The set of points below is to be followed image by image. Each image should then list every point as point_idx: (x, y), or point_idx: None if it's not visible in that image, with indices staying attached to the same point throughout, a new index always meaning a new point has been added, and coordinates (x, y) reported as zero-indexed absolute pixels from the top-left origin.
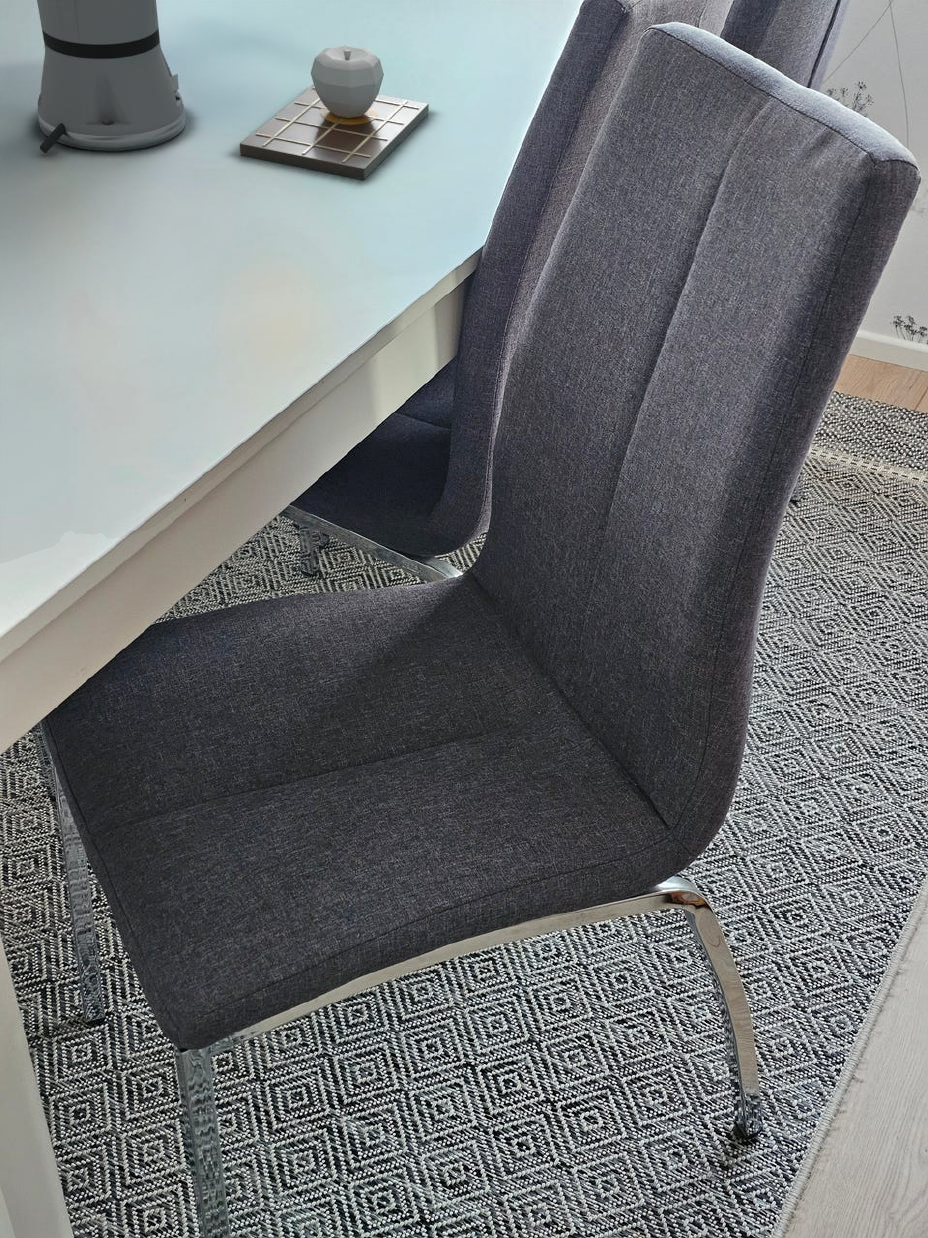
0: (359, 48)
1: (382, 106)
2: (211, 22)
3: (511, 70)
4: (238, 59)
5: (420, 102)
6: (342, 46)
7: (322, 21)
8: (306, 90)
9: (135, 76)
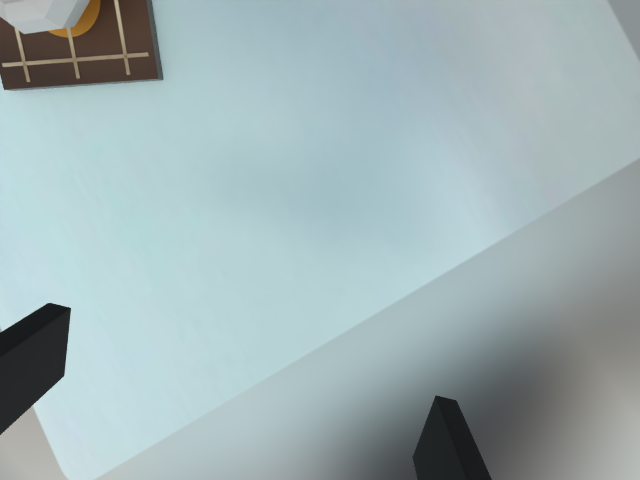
0: (8, 4)
1: (42, 45)
2: (407, 241)
3: (17, 282)
4: (308, 135)
5: (13, 86)
6: (36, 1)
7: (288, 318)
8: (151, 42)
9: None
